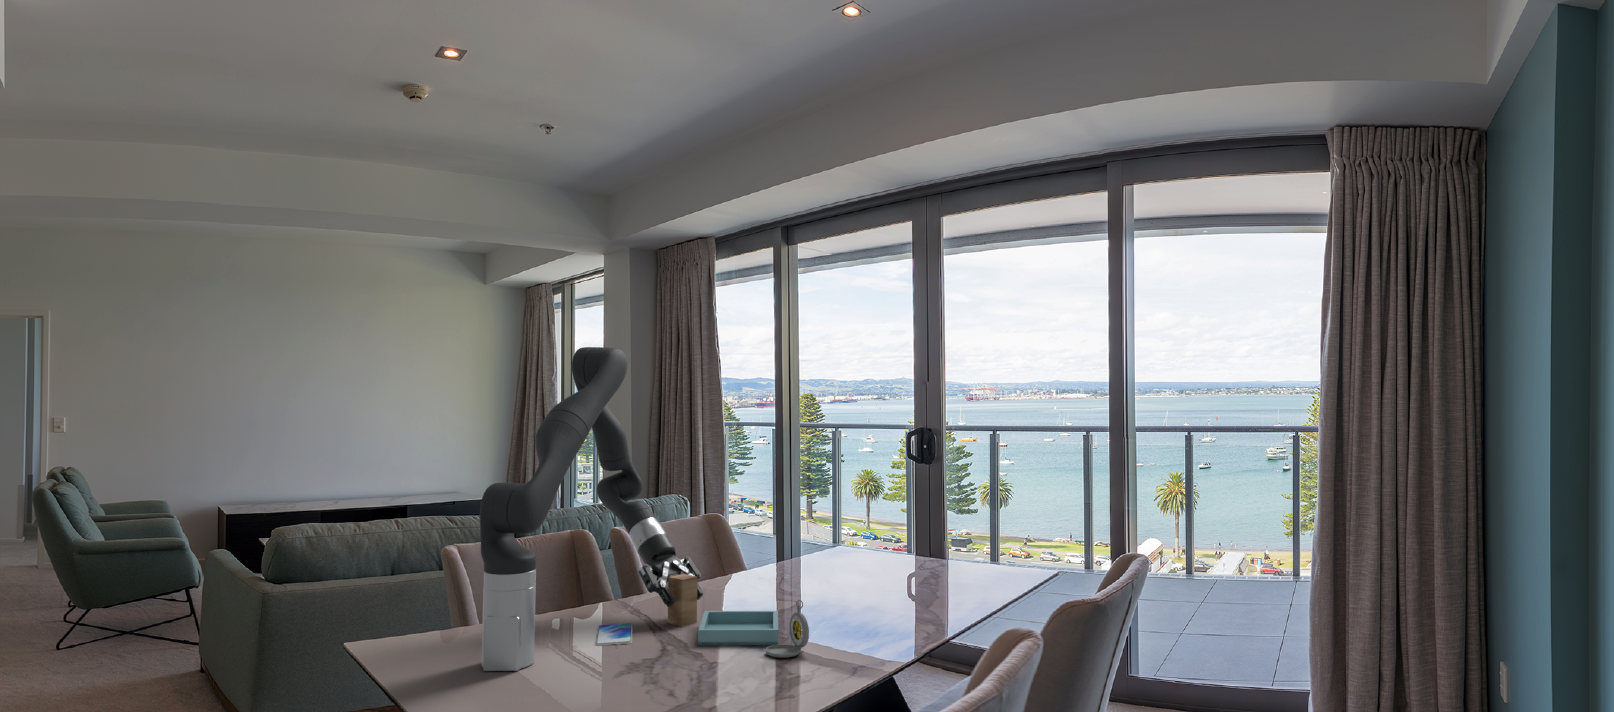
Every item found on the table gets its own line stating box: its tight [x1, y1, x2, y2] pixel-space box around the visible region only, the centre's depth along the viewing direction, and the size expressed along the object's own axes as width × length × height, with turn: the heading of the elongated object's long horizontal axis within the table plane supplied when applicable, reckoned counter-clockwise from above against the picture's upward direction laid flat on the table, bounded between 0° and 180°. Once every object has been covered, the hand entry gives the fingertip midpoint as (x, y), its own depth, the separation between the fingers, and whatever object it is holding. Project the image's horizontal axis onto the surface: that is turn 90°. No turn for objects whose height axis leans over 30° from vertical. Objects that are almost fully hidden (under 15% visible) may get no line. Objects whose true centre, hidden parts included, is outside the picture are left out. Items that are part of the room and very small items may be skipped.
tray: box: [697, 610, 779, 646], centre depth 184 cm, size 16×16×3 cm
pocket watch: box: [765, 599, 810, 659], centre depth 170 cm, size 8×8×10 cm
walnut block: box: [667, 573, 698, 627], centre depth 193 cm, size 4×4×10 cm
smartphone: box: [595, 622, 633, 647], centre depth 183 cm, size 7×1×15 cm
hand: (686, 600), depth 193 cm, fingers open, 8 cm apart
